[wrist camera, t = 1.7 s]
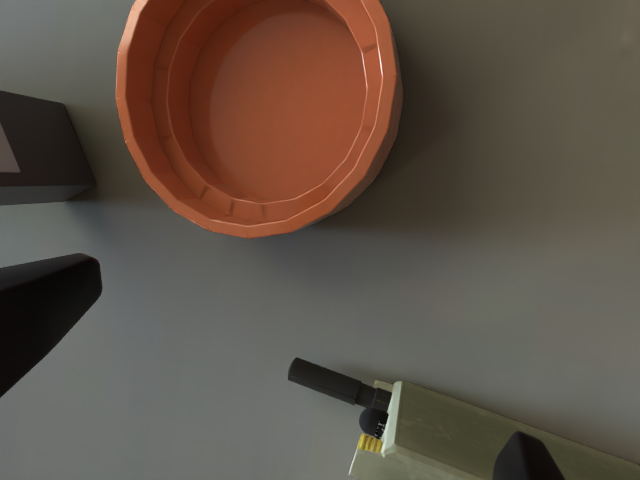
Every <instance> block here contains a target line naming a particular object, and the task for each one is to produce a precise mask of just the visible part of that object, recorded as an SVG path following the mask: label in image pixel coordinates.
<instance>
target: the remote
mask: <svg viewBox="0 0 640 480" xmlns="http://www.w3.org/2000/svg"><path fill="white" fill-rule="evenodd" d="M95 185H96V183H95V181H94V179H93V176H92V174H91V171H90V169H89V166H88V164H87V161H86V159H85V156H84V154H83V152H82V149H81V147H80V144H79V142H78V139H77V137H76V134H75V132H74V129H73V127H72V125H71V122H70V120H69V117H68V115H67V112H66V110H65V107H64V105H63V104H62V103H58V102H53V101H48V100H44V99H39V98H34V97H29V96H24V95H19V94H14V93H10V92H5V91H0V205H15V204H31V203H48V202H63V201H65V200H67V199H69V198H71V197H73V196H75V195H77V194H79V193H81V192H83V191H85V190H87V189H89V188H91V187H93V186H95Z"/></svg>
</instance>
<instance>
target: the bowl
mask: <svg viewBox="0 0 640 480" xmlns="http://www.w3.org/2000/svg"><path fill="white" fill-rule="evenodd" d="M403 94H404V93H403V86H402V79H401V72H400V65H399V58H398V51H397V47H396V44H395V40H394V36H393V32H392V29H391V25H390V21H389V19H388V17H387V15H386V13H385V11H384V9H383V7H382V5H381V3H380V1H379V0H136V1H135V2H134V4H133V6H132V8H131V10H130V14H129V17H128V20H127V23H126V26H125V30H124V33H123V36H122V39H121V43H120V46H119V49H118V54H117V75H116V103H117V107H118V112H119V117H120V122H121V127H122V131H123V136H124V140H125V143H126V145H127V147H128V149H129V151H130V153H131V155H132V157H133V159H134V161H135V163H136V165H137V167H138V169H139V171H140V173H141V175H142V177H143V179H145V181H146V182H147V184H148V185H149V186H150V187H151V188H152V189H153V190H154V191H155V192H156V193H157V194H158V195H159V196H160V197H161V199H162V200H163V201H164V202H165V203H166V204H167V205H168V206H169V207H170V208H171V209H172V210H173V211H174V212H176V213H178V214H180V215H181V216H183V217H185V218H187V219H188V220H190V221H192V222H194V223H195V224H197V225H199V226H201V227H202V228H204V229H206V230H209V231H211V232H216V233H221V234H227V235H232V236H237V237H242V238H247V239H248V238H250V239H251V238H258V237H265V236H272V235H279V234H286V233H291V232H294V231H297V230H299V229H302V228H304V227H307V226H310V225H312V224H315V223H317V222H319V221H321V220H323V219H325V218H327V217H329V216H331V215H332V214H334V213H336V212H338V211H340V210H342V209H344V208H346V207H347V206H349V205H350V204H351V203H352V202H353V201H354V200H355V199H356V198H357V197H358V196H359V195H360V194H361V193H362V192H363V191H364V190H365V189H366V188H367V187H368V186H369V185H370V184H371V183H372V182H373V181H374V180H375V179H376V177H377V176H378V174H379V172H380V170H381V168H382V166H383V164H384V162H385V160H386V158H387V156H388V154H389V152H390V150H391V148H392V146H393V144H394V142H395V139H396V138H397V132H398V126H399V120H400V114H401V108H402V102H403V97H404V96H403Z"/></svg>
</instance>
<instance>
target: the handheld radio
mask: <svg viewBox="0 0 640 480" xmlns="http://www.w3.org/2000/svg"><path fill="white" fill-rule="evenodd" d="M288 380H290V381H292V382H295V383H298V384H300V385H303V386H305V387H308V388H311V389H313V390H316V391H319V392H321V393H324V394H326V395H329V396H332V397H334V398H337V399H340V400H342V401H345V402H347V403H350V404H353V405H355V404H357V405H360V406H363V407H365V408H366V409H365V410H364V411H363V412H362V413H361V415H360V419H359V423H360V427H361V429H362V430H363V431H364V432H365V433H364V434H361V436H360V440H359V443H358V447H357V450H356V453H355V456H354V459H353V462H352V465H351V468H350V471H349V475H350V476H352V477H354V478H355V479H357V480H492V478H493V469H494V464H495V461H496V458H497V456H498V454H499V453H500V451H501V450H502V449H503V447H504V446H505V444H506V443H507V441H508V440H509V438H510V437H511V436H512V434H513V433H514V432H516V431H522V432H524V433H527V434H529V435H532V436H534V437H537V438H539V439H540V440H542V442H543V443H544V444H545V445H546V447H547V449H548V450H549V452H550V454H551V456H552V457H553V459H554V461H555V462H556V464H557V466H558V467H559V469H560V471H561V472H562V474H563V476H564V477H565V479H566V480H640V465H637V464H634V463H632V462H629V461H626V460H623V459H620V458H618V457H615V456H612V455H609V454H606V453H604V452H601V451H598V450H595V449H593V448H590V447H587V446H584V445H581V444H579V443H576V442H573V441H570V440H568V439H565V438H562V437H559V436H556V435H554V434H551V433H548V432H545V431H542V430H540V429H537V428H534V427H531V426H529V425H526V424H523V423H520V422H517V421H515V420H512V419H509V418H506V417H503V416H501V415H498V414H495V413H492V412H490V411H487V410H484V409H481V408H478V407H476V406H473V405H470V404H467V403H464V402H462V401H459V400H456V399H453V398H451V397H448V396H445V395H442V394H439V393H437V392H434V391H431V390H428V389H425V388H423V387H420V386H417V385H414V384H412V383H409V382H405V381H396V382H395V383H394V384H391V383H387V382H383V381H379V380H375V383H374V386H373V387H371V386H368V385H366V384H363V383H361V381H359V380H356V379H353V378H351V377H348V376H345V375H343V374H340V373H337V372H335V371H332V370H329V369H327V368H324V367H321V366H318V365H316V364H313V363H310V362H308V361H305V360H302V359H300V358H297V357H296V358H295V359H294V361H293V362H292V363H291V365H290V367H289V370H288ZM379 421H380V422H379ZM378 423H381V424H382V426H381V425H378ZM378 426H379V427H378ZM377 427H378V428H379V429H377ZM376 431H377V432H376ZM366 433H367V434H369V436H366ZM375 433H376V435H377V436H375ZM371 436H374V438H371ZM380 437H381V438H380ZM376 438H377V439H379V440H377V439H376Z"/></svg>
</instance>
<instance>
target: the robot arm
mask: <svg viewBox="0 0 640 480" xmlns="http://www.w3.org/2000/svg"><path fill="white" fill-rule="evenodd" d="M101 292H102V280H101V271H100V264H99V262H98V260H97V259H95V258H93V257H90V256H88V255H85V254H82V253H77V254H71V255H66V256H61V257H56V258H51V259H45V260H40V261H35V262H30V263H25V264H19V265H14V266H9V267H4V268H0V398H1V397H2V396H3V395H4V394H5V393H6V392H7V391H8V390H9V389H10V388H11V387H13V386H14V385H15V384H16V383H17V382H18V381H19V380H20V379H21V378H22V377H23V376H24V375H26V374H27V373H28V372H29V371H30V370H31V369H32V368H33V367H34V366H35V365H36V364H37V363H39V362H40V361H41V360H42V359H43V358H44V357H45V356H46V355H47V354H48V353H49V352H50V351H51V350H52V349H53V348H54V347H55V346H56V345H57V344H58V343H59V342H60V340H61V339H62V338H63V337H64V336H65V335H66V334H67V333H68V332H69V330H70V329H71V328H72V327H73V326H74V325H75V324H76V323H77V322H78V321H79V319H80V318H81V317H82V316H83V315H84V314H85V313H86V312H87V311H88V310H89V308H90V307H91V306H92V305H93V304H94V303H95V302H96V301H97V300H98V298H99V297H100V295H101ZM492 480H566V479H565V477H564V476H563V474H562V472H561V471H560V469H559V467H558V466H557V464H556V462H555V461H554V459H553V457H552V456H551V454H550V452H549V450H548V449H547V447H546V445H545V444H544V443H543V442H542V440H540V439H539V438H537V437H534V436H532V435H529V434H527V433H524V432H522V431H516V432H514V433H513V434H512V436H511V437H510V438H509V440H508V441H507V443H506V444H505V446H504V447H503V449H502V450H501V451H500V453H499V454H498V456H497V458H496V461H495V464H494V469H493V478H492Z"/></svg>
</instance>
